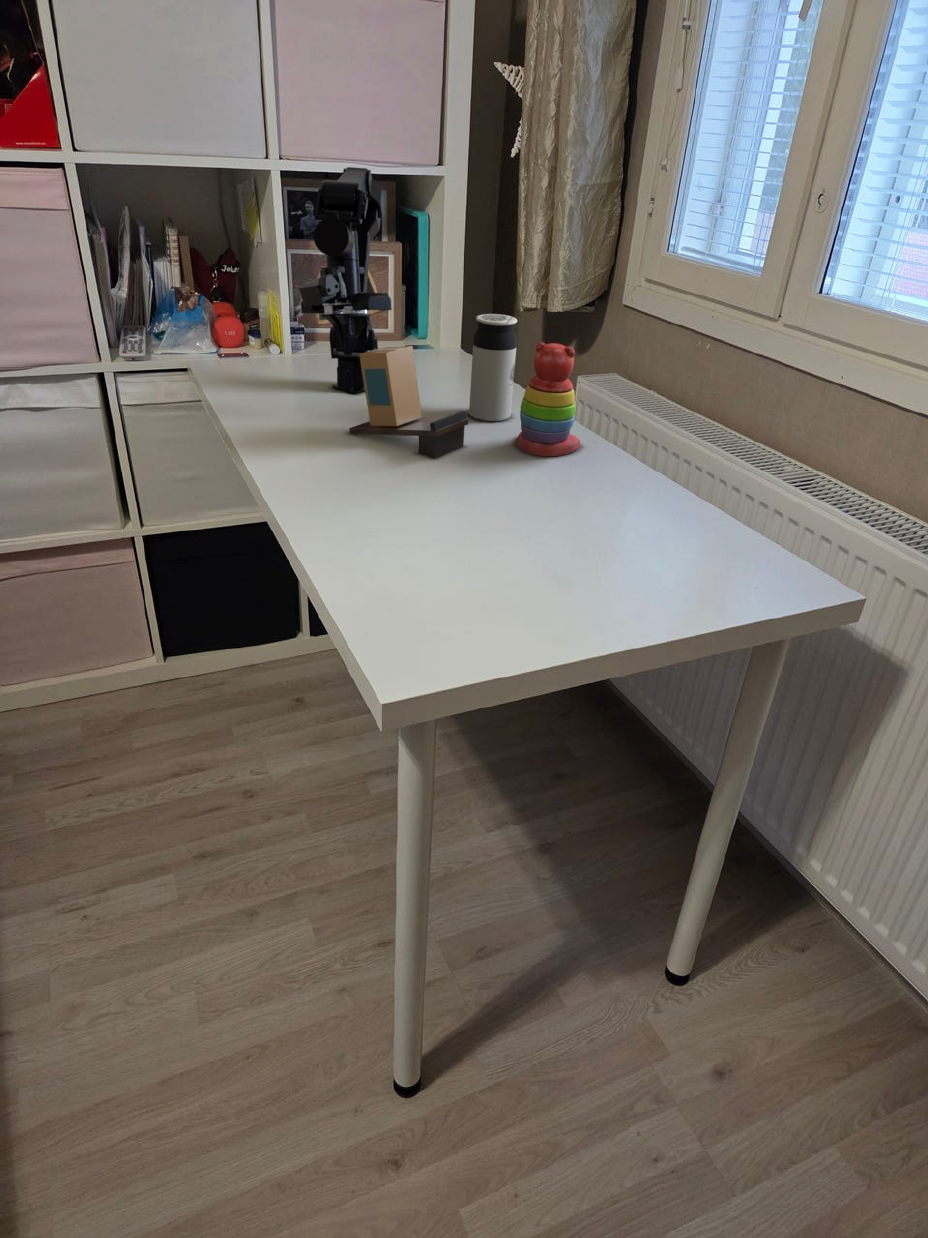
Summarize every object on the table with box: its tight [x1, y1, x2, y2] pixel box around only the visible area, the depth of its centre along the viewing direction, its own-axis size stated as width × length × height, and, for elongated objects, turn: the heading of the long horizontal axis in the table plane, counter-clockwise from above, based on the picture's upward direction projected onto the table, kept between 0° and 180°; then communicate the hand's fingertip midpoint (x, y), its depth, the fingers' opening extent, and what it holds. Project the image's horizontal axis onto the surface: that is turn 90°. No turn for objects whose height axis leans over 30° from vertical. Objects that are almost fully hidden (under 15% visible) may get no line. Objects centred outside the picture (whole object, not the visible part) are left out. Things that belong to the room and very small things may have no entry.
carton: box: [359, 345, 423, 426], centre depth 145 cm, size 8×7×13 cm
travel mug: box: [468, 313, 518, 422], centre depth 158 cm, size 8×8×18 cm
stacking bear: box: [516, 341, 581, 457], centre depth 144 cm, size 11×10×18 cm
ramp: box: [348, 410, 469, 460], centre depth 146 cm, size 19×9×6 cm, turn 55°
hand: (348, 355), depth 152 cm, fingers closed
